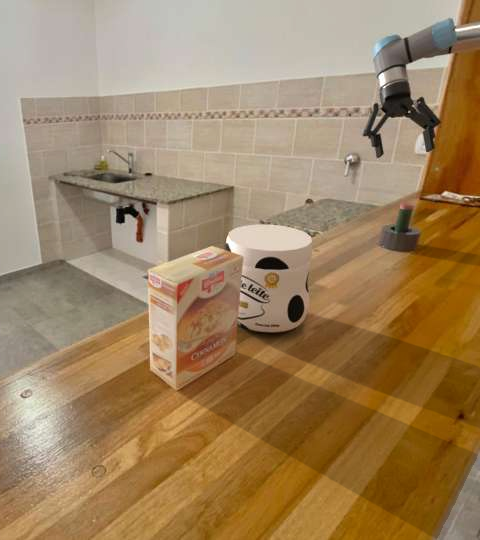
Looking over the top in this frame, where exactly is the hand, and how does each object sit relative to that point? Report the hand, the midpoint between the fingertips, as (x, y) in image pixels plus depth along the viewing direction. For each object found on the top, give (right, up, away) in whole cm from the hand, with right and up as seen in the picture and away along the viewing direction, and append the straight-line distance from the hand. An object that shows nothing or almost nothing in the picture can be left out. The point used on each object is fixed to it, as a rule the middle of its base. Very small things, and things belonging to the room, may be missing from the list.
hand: (405, 153), depth 113 cm
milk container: (-56, -45, -34) cm, 79 cm away
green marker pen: (-5, -28, -3) cm, 28 cm away
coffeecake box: (-72, -51, -46) cm, 100 cm away
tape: (-5, -28, -3) cm, 28 cm away
